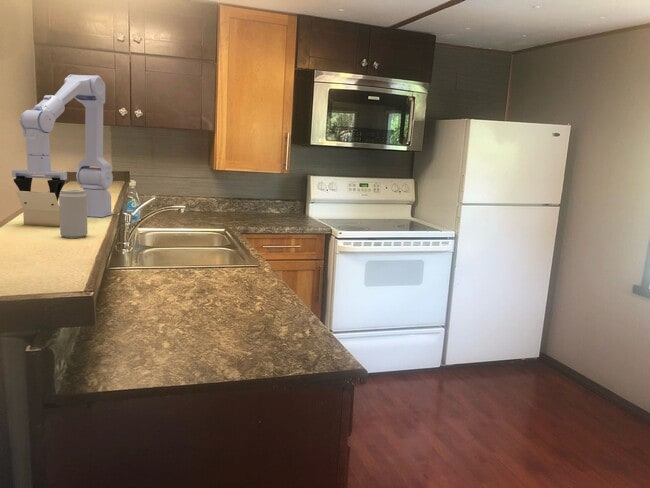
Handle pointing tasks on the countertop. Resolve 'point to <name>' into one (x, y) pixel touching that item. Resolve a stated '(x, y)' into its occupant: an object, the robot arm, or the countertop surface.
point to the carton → (41, 218)
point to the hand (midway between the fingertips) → (41, 204)
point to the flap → (38, 201)
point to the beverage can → (73, 213)
